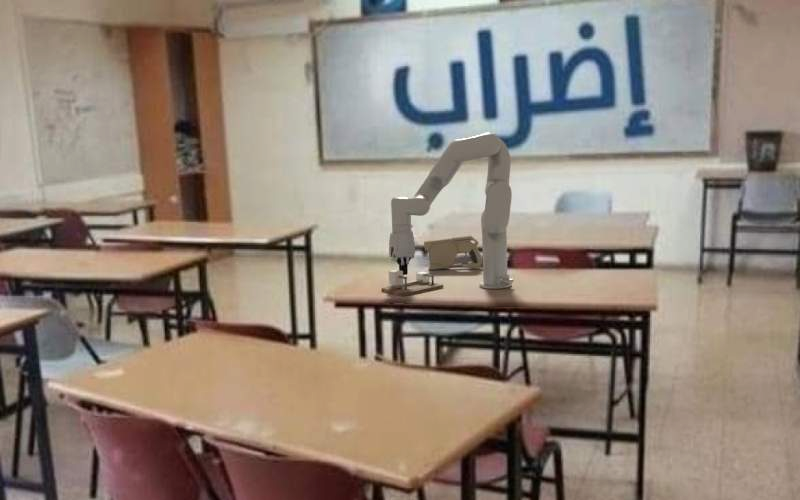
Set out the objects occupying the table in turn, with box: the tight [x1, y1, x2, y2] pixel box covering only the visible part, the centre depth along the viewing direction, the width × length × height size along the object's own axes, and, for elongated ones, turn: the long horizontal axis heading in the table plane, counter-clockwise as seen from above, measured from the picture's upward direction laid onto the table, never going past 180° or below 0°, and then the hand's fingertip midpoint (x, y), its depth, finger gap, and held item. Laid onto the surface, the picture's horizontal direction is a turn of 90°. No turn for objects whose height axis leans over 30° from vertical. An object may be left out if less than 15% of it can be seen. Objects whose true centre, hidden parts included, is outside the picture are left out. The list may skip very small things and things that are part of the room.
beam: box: [387, 271, 435, 290], centre depth 315 cm, size 8×19×4 cm, turn 128°
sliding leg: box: [388, 269, 408, 289], centre depth 311 cm, size 8×4×6 cm, turn 38°
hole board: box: [381, 281, 444, 297], centre depth 314 cm, size 14×20×1 cm
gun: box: [423, 235, 483, 271], centre depth 350 cm, size 24×3×15 cm, turn 84°
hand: (403, 274), depth 315 cm, fingers closed
